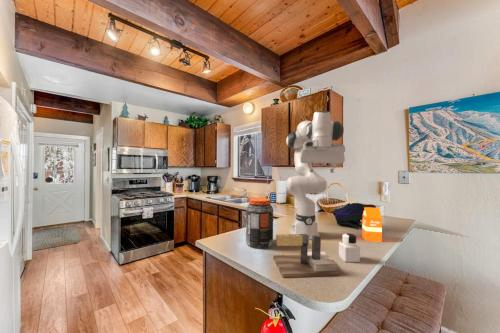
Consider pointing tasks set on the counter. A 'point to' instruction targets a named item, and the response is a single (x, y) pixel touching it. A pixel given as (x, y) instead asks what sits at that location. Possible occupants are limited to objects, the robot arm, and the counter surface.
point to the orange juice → (372, 224)
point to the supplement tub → (259, 223)
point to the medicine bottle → (349, 249)
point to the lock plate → (307, 262)
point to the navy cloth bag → (351, 214)
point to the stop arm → (292, 239)
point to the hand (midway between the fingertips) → (321, 172)
